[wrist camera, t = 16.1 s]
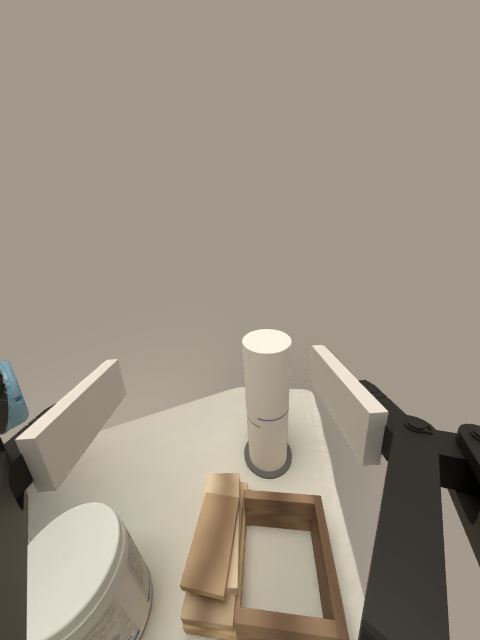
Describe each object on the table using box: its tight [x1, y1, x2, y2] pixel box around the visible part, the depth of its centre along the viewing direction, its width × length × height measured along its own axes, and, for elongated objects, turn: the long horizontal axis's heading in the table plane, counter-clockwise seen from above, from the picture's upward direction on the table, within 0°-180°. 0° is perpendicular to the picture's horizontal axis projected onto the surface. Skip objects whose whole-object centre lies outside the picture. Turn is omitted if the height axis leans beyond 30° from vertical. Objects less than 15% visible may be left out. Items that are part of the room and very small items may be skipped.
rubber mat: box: [245, 441, 291, 479], centre depth 43 cm, size 9×9×1 cm
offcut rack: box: [180, 473, 349, 640], centre depth 29 cm, size 17×15×7 cm
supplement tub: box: [27, 502, 152, 640], centre depth 24 cm, size 10×10×15 cm
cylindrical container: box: [242, 329, 291, 472], centre depth 38 cm, size 7×7×25 cm
